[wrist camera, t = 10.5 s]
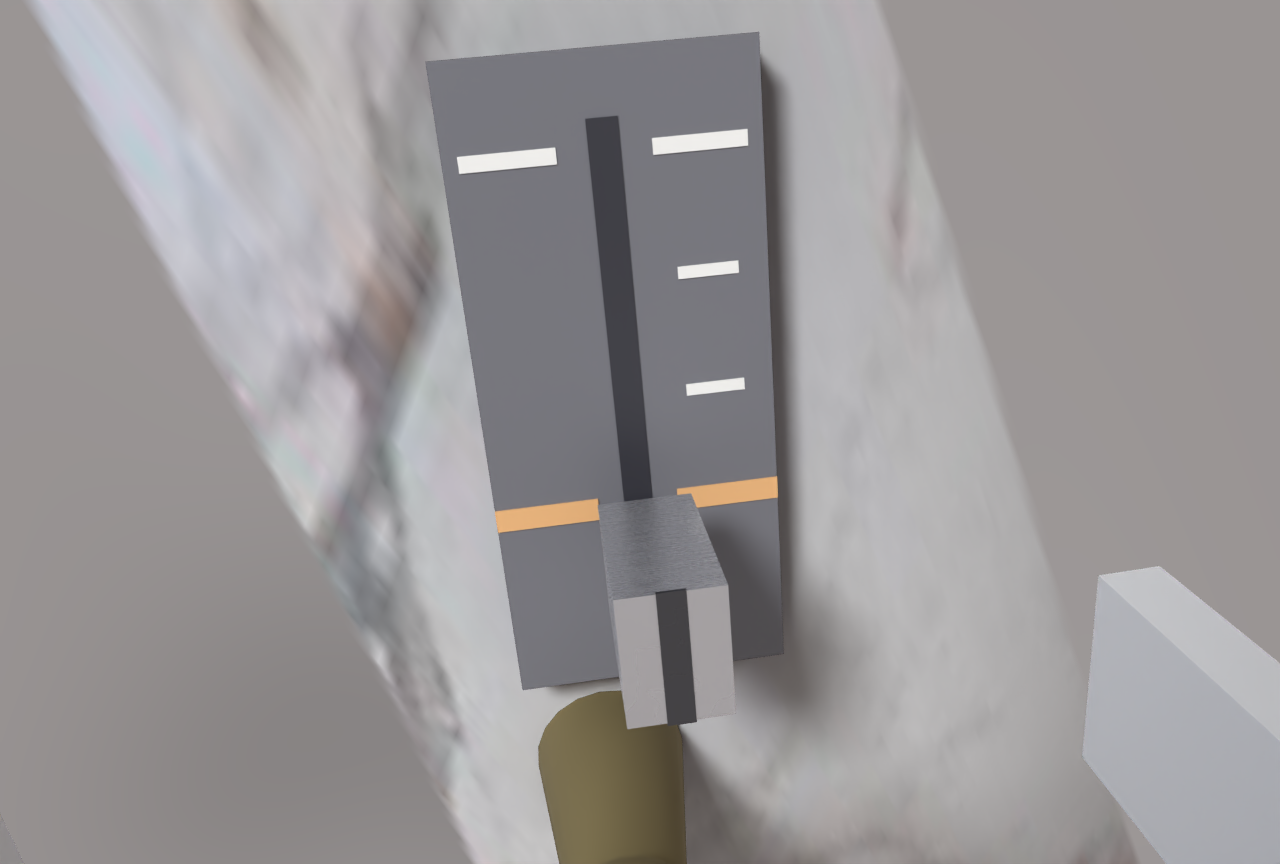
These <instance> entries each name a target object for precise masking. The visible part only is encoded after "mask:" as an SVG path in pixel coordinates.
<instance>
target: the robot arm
mask: <svg viewBox="0 0 1280 864" xmlns="http://www.w3.org/2000/svg"><path fill="white" fill-rule="evenodd" d="M1082 757H1083V759H1084V760H1085V761H1086V763H1087V764H1088V765H1089V766H1090V768H1091V769H1092V770H1093V771H1094V773H1095V774H1096V775H1097V777H1098V778H1099V779H1100V780H1101V782H1102V783H1103V784H1104V785H1105V787H1106V788H1107V789H1108V791H1109V792H1110V793H1111V794H1112V796H1113V797H1114V798H1115V799H1116V801H1117V802H1118V803H1119V805H1120V806H1121V807H1122V808H1123V810H1124V811H1125V812H1126V813H1127V815H1128V816H1129V817H1130V819H1131V820H1132V821H1133V822H1134V824H1135V825H1136V826H1137V827H1138V829H1139V830H1140V831H1141V833H1142V834H1143V835H1144V836H1145V838H1146V839H1147V840H1148V841H1149V843H1150V844H1151V845H1152V846H1153V848H1154V849H1155V850H1156V851H1157V853H1158V854H1159V855H1160V857H1161V858H1162V859H1163V860H1164V862H1165V863H1166V864H1280V663H1279V662H1278V661H1277V660H1275V659H1274V658H1273V657H1272V656H1270V655H1269V654H1268V653H1267V652H1265V651H1264V650H1263V649H1262V648H1260V647H1259V646H1258V645H1257V644H1255V643H1254V642H1253V641H1252V640H1251V639H1249V638H1248V637H1247V636H1246V635H1244V634H1243V633H1242V632H1241V631H1239V630H1238V629H1237V628H1235V627H1234V626H1233V625H1232V624H1231V623H1230V622H1228V621H1227V620H1226V619H1225V618H1223V617H1222V616H1221V615H1220V614H1218V613H1217V612H1216V611H1214V610H1213V609H1212V608H1211V607H1209V606H1208V605H1207V604H1206V603H1205V602H1204V601H1202V600H1201V599H1200V598H1198V597H1197V596H1196V595H1195V594H1193V593H1192V592H1191V591H1190V590H1189V589H1188V588H1186V587H1185V586H1184V585H1182V584H1181V583H1180V582H1179V581H1178V580H1176V579H1175V578H1174V577H1173V576H1171V575H1170V574H1169V573H1168V572H1167V571H1165V570H1164V569H1163V568H1162V567H1160V566H1157V567H1150V568H1144V569H1137V570H1131V571H1124V572H1118V573H1111V574H1105V575H1099V576H1098V586H1097V597H1096V608H1095V620H1094V632H1093V643H1092V654H1091V664H1090V675H1089V686H1088V698H1087V709H1086V720H1085V731H1084V742H1083V753H1082ZM0 864H24V862H23V860H22V858H21V856H20V854H19V852H18V850H17V848H16V846H15V843H14V841H13V839H12V837H11V835H10V833H9V831H8V829H7V827H6V825H5V823H4V820H3V818H2V816H1V814H0Z"/></svg>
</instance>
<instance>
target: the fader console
mask: <svg viewBox="0 0 1280 864" xmlns="http://www.w3.org/2000/svg"><path fill="white" fill-rule="evenodd" d="M426 69H427V75H428V82H429V88H430V94H431V101H432V107H433V114H434V120H435V127H436V133H437V140H438V146H439V153H440V159H441V166H442V172H443V178H444V185H445V191H446V198H447V204H448V211H449V217H450V224H451V230H452V237H453V243H454V250H455V256H456V262H457V269H458V275H459V282H460V288H461V295H462V301H463V308H464V314H465V321H466V327H467V334H468V340H469V346H470V353H471V359H472V366H473V372H474V379H475V385H476V392H477V398H478V405H479V411H480V417H481V424H482V430H483V437H484V443H485V450H486V456H487V463H488V469H489V476H490V482H491V489H492V495H493V501H494V508H495V516H496V522H497V528H498V534H499V540H500V547H501V553H502V560H503V566H504V573H505V579H506V585H507V592H508V598H509V605H510V611H511V618H512V624H513V631H514V637H515V644H516V650H517V657H518V663H519V669H520V676H521V682H522V689H523V690H527V689H534V688H542V687H549V686H556V685H563V684H570V683H578V682H585V681H592V680H599V679H606V678H614V677H619V671H618V665H617V658H616V652H615V645H614V638H613V632H612V625H611V619H610V611H609V602H608V594H607V585H606V576H605V567H604V558H603V549H602V540H601V532H600V523H599V514H598V505H601V504H609V503H617V502H625V501H633V500H641V499H649V498H657V497H665V496H673V495H681V494H689V493H691V494H692V497H693V499H694V502H695V504H696V507H697V509H698V512H699V514H700V517H701V519H702V522H703V524H704V527H705V529H706V531H707V534H708V536H709V539H710V541H711V544H712V546H713V549H714V551H715V554H716V556H717V559H718V561H719V564H720V566H721V569H722V571H723V574H724V576H725V579H726V581H727V583H728V590H729V606H730V623H731V639H732V655H733V661H736V660H743V659H750V658H758V657H765V656H772V655H779V654H784V646H783V621H782V596H781V571H780V545H779V520H778V485H777V470H776V444H775V419H774V394H773V369H772V344H771V318H770V293H769V268H768V243H767V217H766V192H765V167H764V142H763V116H762V91H761V66H760V41H759V32H752V33H741V34H730V35H719V36H708V37H696V38H685V39H674V40H663V41H652V42H640V43H629V44H618V45H607V46H596V47H584V48H573V49H562V50H551V51H540V52H528V53H517V54H506V55H495V56H484V57H472V58H461V59H450V60H439V61H428V62H426Z"/></svg>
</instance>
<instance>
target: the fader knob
mask: <svg viewBox="0 0 1280 864" xmlns="http://www.w3.org/2000/svg"><path fill="white" fill-rule="evenodd" d="M598 514H599V523H600V532H601V540H602V549H603V558H604V567H605V576H606V585H607V594H608V602H609V611H610V619H611V625H612V632H613V638H614V645H615V652H616V658H617V665H618V671H619V678H620V684H621V691H622V697H623V704H624V711H625V717H626V724H627V729H633V728H640V727H647V726H654V725H661V724H667V725H668V726H673V725H680V724H687V723H694V722H697V719H702V718H709V717H716V716H723V715H730V714H736V704H735V687H734V671H733V655H732V639H731V623H730V606H729V590H728V583H727V581H726V579H725V576H724V574H723V571H722V569H721V566H720V564H719V561H718V559H717V556H716V554H715V551H714V549H713V546H712V544H711V541H710V539H709V536H708V534H707V531H706V529H705V527H704V524H703V522H702V519H701V517H700V514H699V512H698V509H697V507H696V504H695V502H694V499H693V497H692V494H691V493H689V494H681V495H673V496H665V497H657V498H649V499H641V500H633V501H625V502H617V503H609V504H601V505H598Z"/></svg>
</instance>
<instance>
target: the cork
mask: <svg viewBox="0 0 1280 864" xmlns="http://www.w3.org/2000/svg"><path fill="white" fill-rule="evenodd" d="M538 751H539V769H540V774H541V778H542V783H543V788H544V793H545V797H546V802H547V807H548V812H549V816H550V821H551V826H552V831H553V836H554V840H555V845H556V850H557V855H558V859H559V864H687V858H686V831H685V804H684V776H683V749H682V737H681V734H680V731H679V728H678V726H677V725H673V726H668V725H667V724H661V725H654V726H647V727H640V728H633V729H627V724H626V717H625V711H624V704H623V697H622V691H606V692H598V693H595V694H591V695H588V696H585V697H582V698H579V699H577V700H575V701H574V702H572V703H571V704H569V705H568V706H566V707H565V708H563V709H562V710H560V711H559V712H558V713H557V714H556V715H555V717H554V718H553V719H552V720H551V722H550V723H549V724H548V725H547V727H546V728H545V730H544V733H543V736H542V738H541V741H540V744H539V747H538Z"/></svg>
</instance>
